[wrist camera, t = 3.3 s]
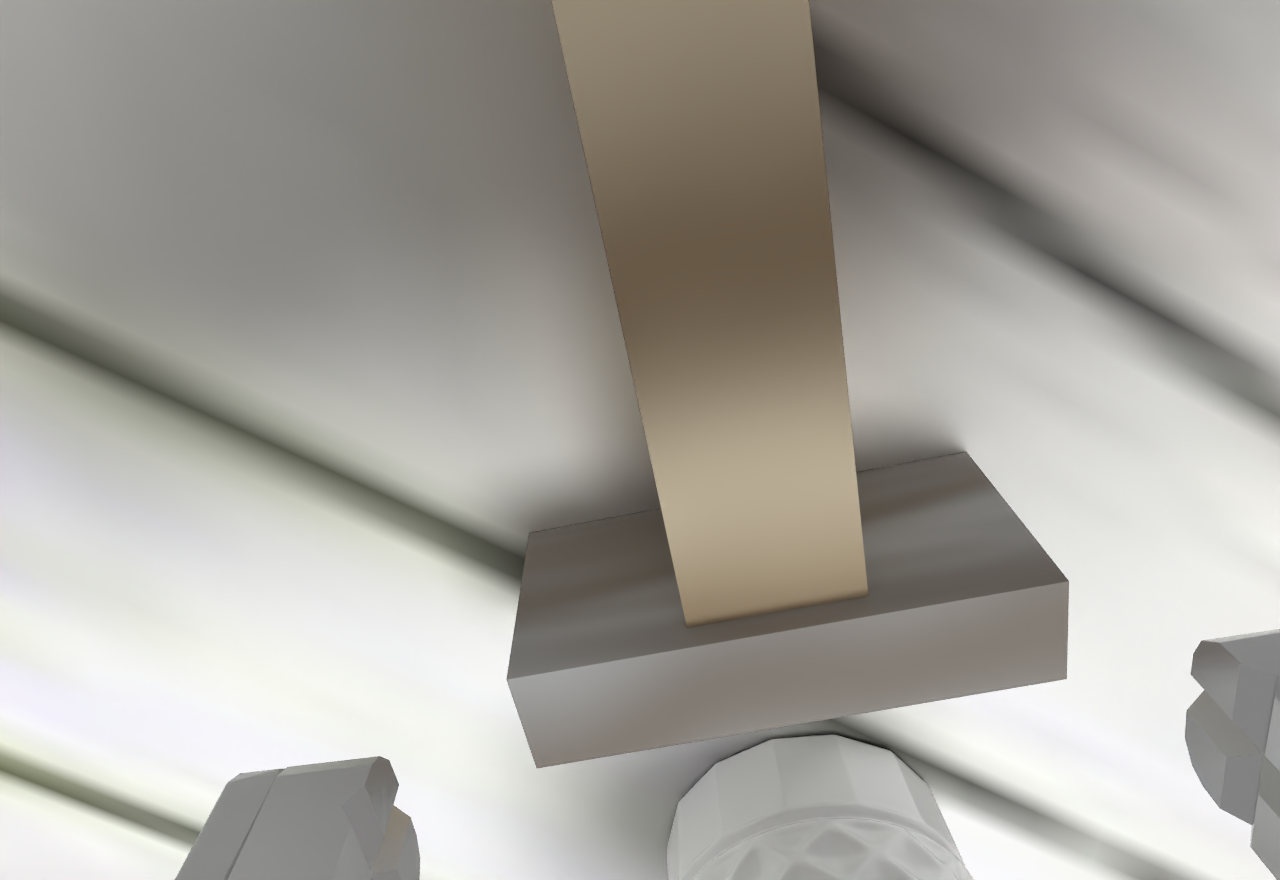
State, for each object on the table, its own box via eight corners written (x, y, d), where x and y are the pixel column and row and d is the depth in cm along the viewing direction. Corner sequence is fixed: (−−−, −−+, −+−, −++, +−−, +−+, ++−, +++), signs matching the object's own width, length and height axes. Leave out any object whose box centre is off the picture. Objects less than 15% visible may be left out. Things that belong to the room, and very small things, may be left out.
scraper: (328, -146, 13) (203, -211, 9) (937, -289, 13) (1092, -425, 9) (552, 607, 19) (536, 768, 15) (968, 533, 19) (1066, 678, 15)
